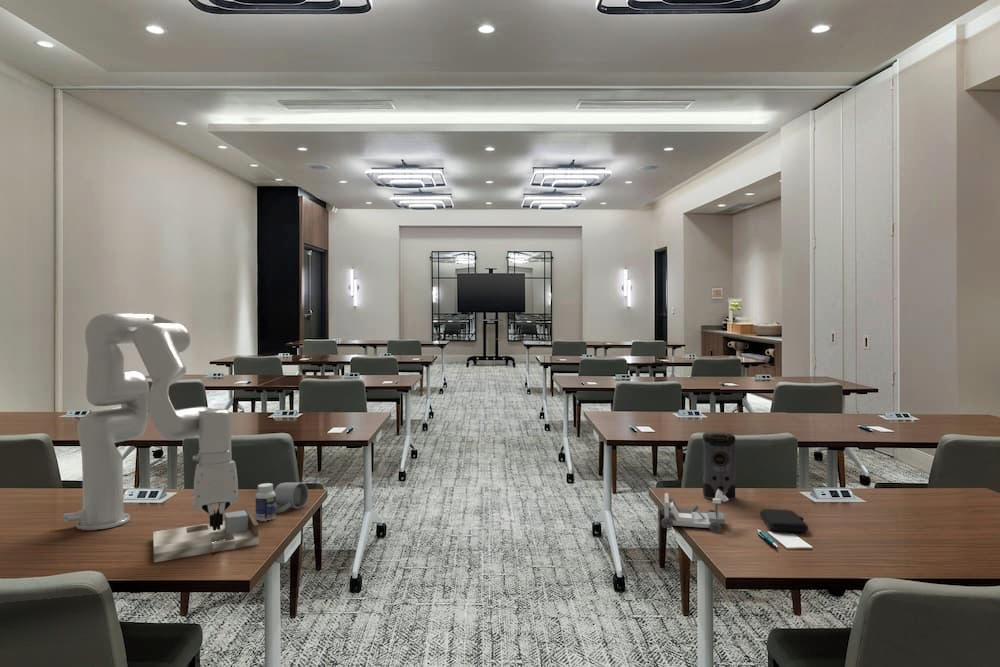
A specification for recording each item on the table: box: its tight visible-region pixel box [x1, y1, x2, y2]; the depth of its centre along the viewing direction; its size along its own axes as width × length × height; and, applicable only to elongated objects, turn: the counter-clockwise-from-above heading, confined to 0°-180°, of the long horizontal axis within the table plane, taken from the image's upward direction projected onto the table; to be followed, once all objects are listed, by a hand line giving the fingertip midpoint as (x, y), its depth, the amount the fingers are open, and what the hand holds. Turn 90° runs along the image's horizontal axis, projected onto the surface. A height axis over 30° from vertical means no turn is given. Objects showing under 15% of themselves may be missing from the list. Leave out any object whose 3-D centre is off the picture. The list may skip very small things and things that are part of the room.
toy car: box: [660, 489, 729, 533], centre depth 168 cm, size 18×10×12 cm
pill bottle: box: [255, 482, 277, 522], centre depth 174 cm, size 5×5×10 cm
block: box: [224, 509, 248, 534], centre depth 159 cm, size 5×5×4 cm
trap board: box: [152, 506, 260, 563], centre depth 155 cm, size 23×18×5 cm
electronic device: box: [702, 432, 736, 501], centre depth 193 cm, size 9×6×20 cm, turn 80°
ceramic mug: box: [273, 481, 309, 514], centre depth 184 cm, size 11×8×8 cm
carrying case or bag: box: [759, 508, 809, 535], centre depth 166 cm, size 11×3×15 cm
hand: (216, 528), depth 157 cm, fingers closed
